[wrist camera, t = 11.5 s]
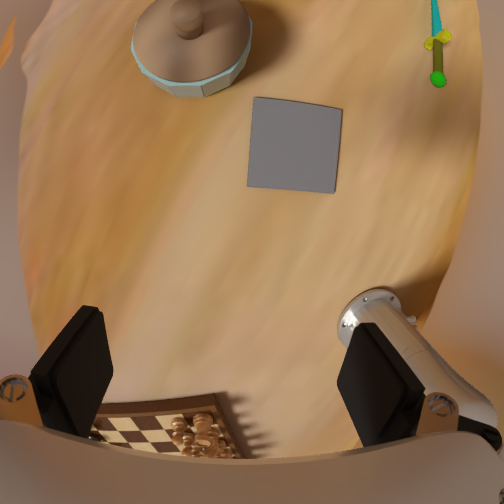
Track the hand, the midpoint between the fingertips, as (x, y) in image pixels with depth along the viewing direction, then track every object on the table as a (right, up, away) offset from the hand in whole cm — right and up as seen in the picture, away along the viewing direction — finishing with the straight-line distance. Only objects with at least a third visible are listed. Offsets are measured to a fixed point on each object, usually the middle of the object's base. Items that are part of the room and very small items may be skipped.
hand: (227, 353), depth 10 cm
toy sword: (+31, +43, +21) cm, 57 cm away
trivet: (+7, +18, +27) cm, 33 cm away
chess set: (-22, -45, +47) cm, 69 cm away
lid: (-6, +27, +14) cm, 31 cm away
